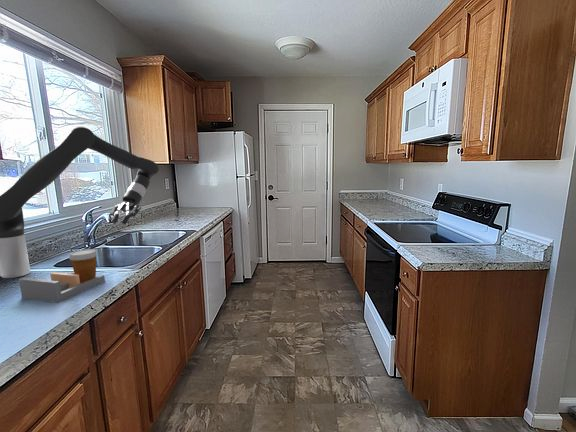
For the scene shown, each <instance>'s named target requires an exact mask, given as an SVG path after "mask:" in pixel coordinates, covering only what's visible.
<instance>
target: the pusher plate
mask: <svg viewBox="0 0 576 432" xmlns="http://www.w3.org/2000/svg"><path fill="white" fill-rule="evenodd" d="M49 276H50V280H51V281H59V283H60V290H61V292H62V291H65V290H67V289H69V288H72V287H74V286H76V285H79V284H81V283H80V279H79V275H77V274H69V273H65V272H64V273H63V272H51V273H50V274H49Z"/></svg>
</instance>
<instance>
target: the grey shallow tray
mask: <svg viewBox="0 0 576 432" xmlns="http://www.w3.org/2000/svg"><path fill="white" fill-rule="evenodd" d="M68 274H75V273H74V271H73V272H69V273H68ZM104 282H106V278H105V275H104V274H100V275H98V276H96V277H95V278H93V279H91V280H88V281H86V282H83V283H80V284H79V285H76V286H74V287H72V288H69V289H67V290H65V291H61V290H60V283H59V281H51V279H50V280H49V279H39V278H38V279H37V278H30V277H29V278H28V277H21V278H19V279H18V284H19V288H20V293H21V294H20V296H21V298H22V299H25V300H33V301H43V302H48V303H49V302H50V303H60V302H62V301H64V300H66V299H69V298H71V297H73V296H75V295H77V294H80V293H82V292H84V291H86V290H88V289H92V288H93V287H95V286H98V285H100V284H102V283H104Z"/></svg>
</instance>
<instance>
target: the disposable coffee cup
mask: <svg viewBox="0 0 576 432" xmlns="http://www.w3.org/2000/svg"><path fill="white" fill-rule="evenodd" d="M97 256H98V252H97V250H96V249H94V248H90V249H89V248H88V249H78V250H74V251H72V252H70V253H69V256H68V259H69V260H70V262H71V266H72V270H73V273H75V274H77V275H79V279H80V284H81V283H83V282H86V281H88V280H91V279H93V278H95V277H97Z"/></svg>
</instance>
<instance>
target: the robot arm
mask: <svg viewBox="0 0 576 432" xmlns="http://www.w3.org/2000/svg"><path fill="white" fill-rule="evenodd" d="M93 132H94V131H92V130H91V129H90V128H88V127H86V126H82V125H78V126H77V125H76V126H74V127H72V128H71V129H69V132H68V135H67V137H65V138H64V140H63V141H62V142H61V144H59V145H58V146H57V147H56V148H54V149H52V150H51V151H48V152H47V153H46V154H45V155H43V156H42V157H40V158H39V159H38V160H36V162H34V163H33V164H32V165H31V166H30V167H29V168H28V169H27V170H26V171H25V172H24V173H23V174H22V175H21V176H20V177H19V178H18V180H16V182H15V183H14V184H13V185H12V186H11V187H9V188H8V189H7V190H5V191H4V192H3V193H2V194H0V277H1V278H2V279H14V278H19V277H23V276H26V275H28V274H30V273H31V266H30V262H29V254H28V248H27V242H26V236H25V220H24V214H23V213H24V212H23V207H24V206H25V205H26V203H28V201H30V199H32V198H33V197H35V195H37V194H38V193H40V192H42V191H43V190H44V189H46V188H47V187H49V186H50V185H51V184H52V183H54V181H56V179H57V178H58V177H59V176H61V174H62V173H64V171H66V169H67V168H68V167H69V166H70V164H71V163H72V162H73V161H74V160H75V159H76V158H77V157H79V156H80V155H81V154H82V153H84V152H85V151H87V150H88V149H89V150H91V151H94V152H96V153H99V154H102V155H103V156H105V157H107V158H109V159H111V160H113V161H114V162H116V163H118V164H120V165H122V166H124V167H127V168H128V169H131V170H136V169H137V173H136V176H135V178H134V179H133V181H132V182H131V184H130V186H128V188H127V190H126V191H125V193H124V195H123V197H122V201H121V202H120V203H119V204H118V203H114V205H113V207H112V209H111V214H112V215H113V216H112V218H111V220H110V222H111V224H113V225H116V224H117V222H118V220H119V219H120V217H121V216H122V215H124V214H125V215H124V216H123V217H122V220H121V224H123V225H127V224H128V222H129V221H130V220H129V219H131V218H135V216H137V214H138V213H139V212H140V211H141V209H142V206H141V205H140V203H141V201H142V199H143V197H144V196H145V194H146V191H147V189H148V187H149V186H150V182H151V181H150V180H151V178H152V177H153V176H155V175H156V174H158V172H159V170H160V168H159V165H158V164H157V163H156V162H155V161H153V160H151V159H147V158H146V157H145V158H144V157H140V156H137V155H136V154H133V153H131V152H130V151H127V150H126V149H123V148H121V147H119V146H117V145H114V144H112V143H109V142H108V141H106V140H104V139H102V138H100V136H97V135H96V134H94V133H93Z"/></svg>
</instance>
